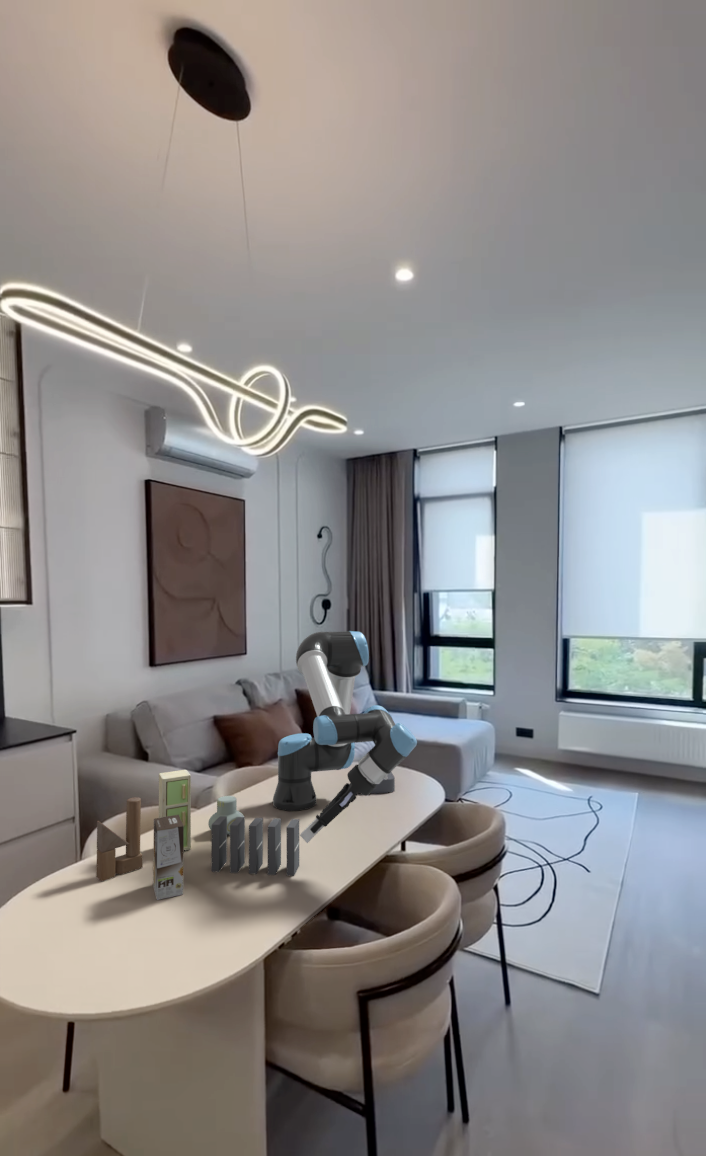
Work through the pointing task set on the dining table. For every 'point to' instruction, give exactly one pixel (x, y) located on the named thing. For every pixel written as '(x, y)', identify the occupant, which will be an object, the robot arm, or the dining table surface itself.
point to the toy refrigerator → (176, 799)
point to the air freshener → (226, 811)
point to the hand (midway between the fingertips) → (304, 838)
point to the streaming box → (385, 785)
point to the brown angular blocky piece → (120, 845)
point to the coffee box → (168, 856)
